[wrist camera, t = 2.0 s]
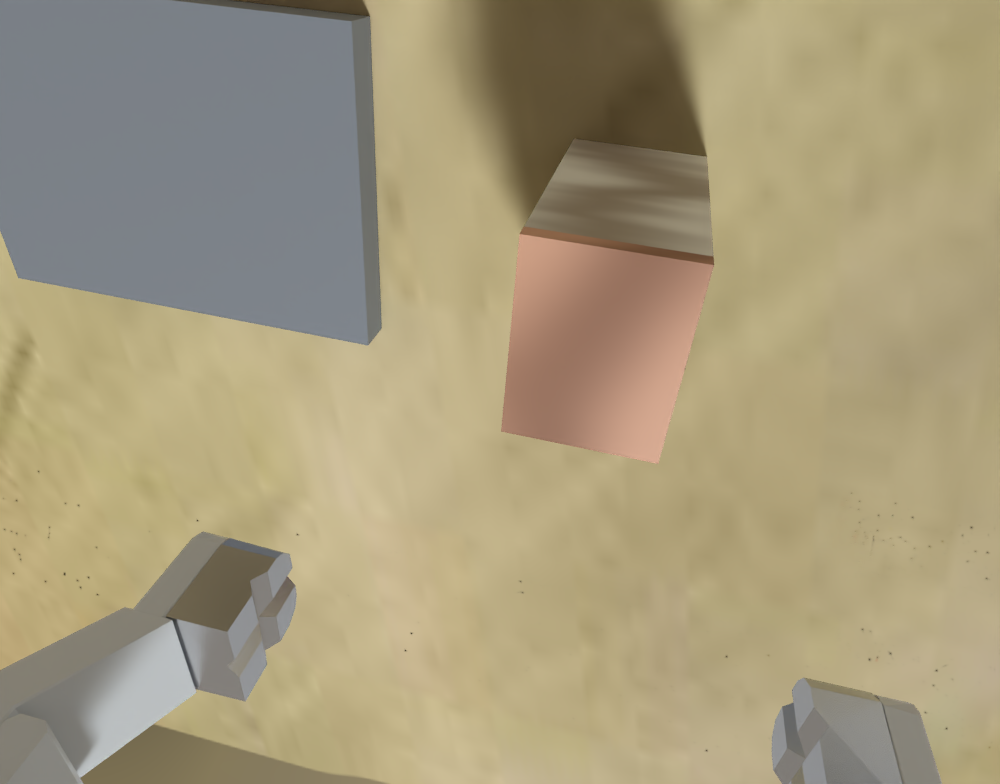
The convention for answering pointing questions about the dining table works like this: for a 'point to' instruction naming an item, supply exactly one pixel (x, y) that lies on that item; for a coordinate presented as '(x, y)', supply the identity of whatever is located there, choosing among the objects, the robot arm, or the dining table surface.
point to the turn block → (608, 298)
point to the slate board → (194, 158)
